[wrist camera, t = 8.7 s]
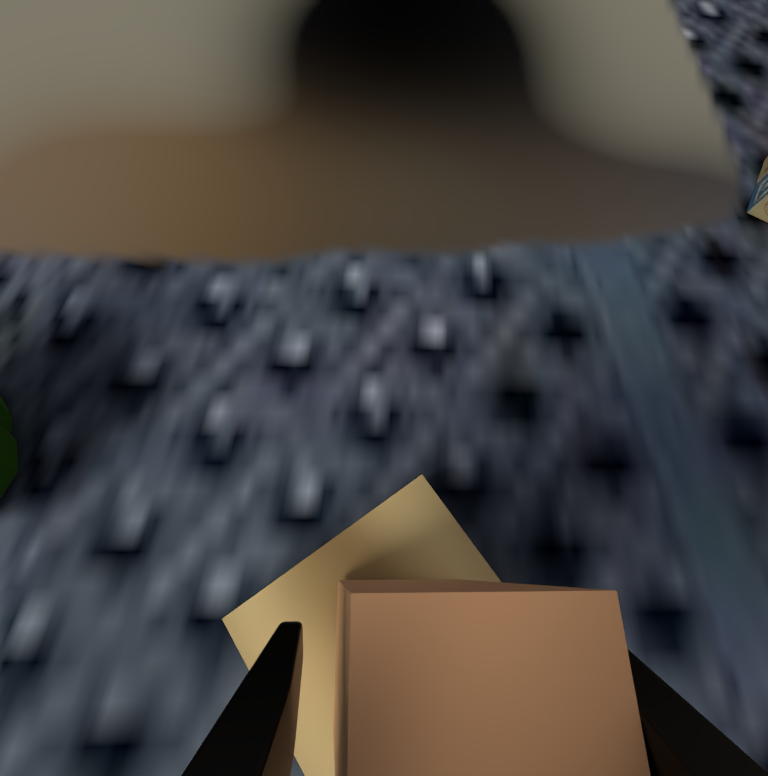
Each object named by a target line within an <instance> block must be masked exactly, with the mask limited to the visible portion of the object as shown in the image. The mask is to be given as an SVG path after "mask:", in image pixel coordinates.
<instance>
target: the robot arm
mask: <svg viewBox="0 0 768 776" xmlns="http://www.w3.org/2000/svg"><path fill="white" fill-rule="evenodd" d="M627 650H628V649H627ZM628 655H629V661H630V666H631V671H632V677H633V682H634V688H635V693H636V699H637V704H638V710H639V715H640V721H641V726H642V732H643V737H644V742H645V748H646V753H647V759H648V764H649V770H650V775H651V776H768V773H767V772H766V771H765V770H764V769H763V768H761V767H760V766H759V765H758V764H757V763H756V762H755V761H754V760H752V759H751V758H750V757H749V756H748V755H747V754H746V753H744V752H743V751H742V750H741V749H740V748H739V747H738V746H737V745H735V744H734V743H733V742H732V741H731V740H730V739H729V738H728V737H726V736H725V735H724V734H723V733H722V732H721V731H720V730H719V729H717V728H716V727H715V726H714V725H713V724H712V723H711V722H709V721H708V720H707V719H706V718H705V717H704V716H703V715H702V714H700V713H699V712H698V711H697V710H696V709H695V708H694V707H693V706H691V705H690V704H689V703H688V702H687V701H686V700H685V699H683V698H682V697H681V696H680V695H679V694H678V693H677V692H676V691H674V690H673V689H672V688H671V687H670V686H669V685H668V684H667V683H665V682H664V681H663V680H662V679H661V678H660V677H659V676H658V675H656V674H655V673H654V672H653V671H652V670H651V669H650V668H648V667H647V666H646V665H645V664H644V663H643V662H642V661H641V660H639V659H638V658H637V657H636V656H635V655H634V654H633V653H632V652H630V651H629V650H628ZM302 665H303V627H302V623H301V622H299V621H285V622H282V623H280V624H279V626H278V627H277V629H276V630H275V632H274V633H273V635H272V636H271V638H270V640H269V641H268V643H267V644H266V646H265V647H264V649H263V650H262V652H261V653H260V655H259V657H258V658H257V660H256V661H255V663H254V664H253V666H252V667H251V669H250V670H249V672H248V674H247V675H246V677H245V678H244V680H243V681H242V683H241V684H240V686H239V687H238V689H237V691H236V692H235V694H234V695H233V697H232V698H231V700H230V701H229V703H228V704H227V706H226V708H225V709H224V711H223V712H222V714H221V715H220V717H219V718H218V720H217V721H216V723H215V725H214V726H213V728H212V729H211V731H210V732H209V734H208V735H207V737H206V738H205V740H204V742H203V743H202V745H201V746H200V748H199V749H198V751H197V752H196V754H195V755H194V757H193V759H192V760H191V762H190V763H189V765H188V766H187V768H186V769H185V771H184V772H183V774H182V776H290V772H291V767H292V761H293V755H294V748H295V740H296V730H297V719H298V708H299V698H300V687H301V676H302Z"/></svg>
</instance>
